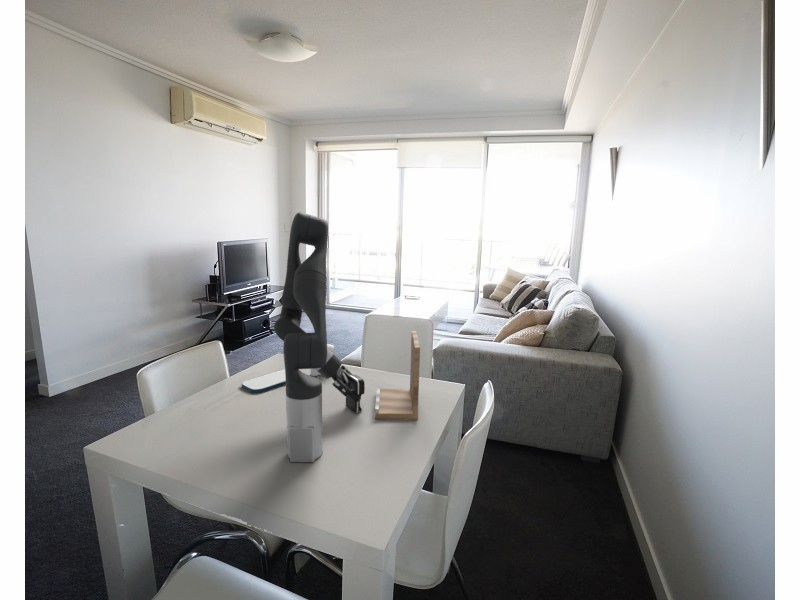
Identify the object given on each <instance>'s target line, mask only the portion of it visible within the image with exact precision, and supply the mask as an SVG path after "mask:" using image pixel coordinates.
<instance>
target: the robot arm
mask: <svg viewBox="0 0 800 600" xmlns="http://www.w3.org/2000/svg"><path fill="white" fill-rule="evenodd" d="M328 239H329V222H328V221H327V220H326V219H325V218H323V217H320V216H316V215H312V214H308V213H304V212H297V213H296V214H295V216H294V217H293V220H292V222H291V226H290V234H289V241H288V251H287V261H286V262H287V263H286V273H285V274H286V275H285V281H284V285H283V290H282V296H281V300H280V301H281V305H282V306H281V311H280V315H279V318H278V319H276V321H275V323H274V326H273V329H274V333H275V334H276V336H277V337H278V338H279V339H280V340H281V341H283V361H284V369H285V376H286V385H285V404H286V405H285V407H286V409H285V410H286V411H285V412H286V413H285V414H286V439H287V440H286V442H287V444H286V445H287V446H286V447H287V457H288V458H289V462H290V463H314V462H315V460H317V459H318V458H320V457H321V456H322V454H323V452H324V451H323V450H324V449H323V447H324V446H323V438H324V437H323V384H322V381H321V380H320V379H319V378H317V377H316V376H312V375H308V374H307V373H305V372H304V371H302V370H311V368H312V369H316V370H317V371H318V372H319V373H320V374H321V375H320V376H322V377H323V379H325V380H328V379H329V378H331V379H332V380H333V382H332V386H333V387H334V388H335V389H336V390H338V391H339V392H340V393H341V395H343V396H344V397H346V396H347V395H349V396H350V397H351V398H352V399H353V400H354V401H355V402H358V401H359V400H360V401H361V399H362V395H361V396H359V395H358V394H357V393H356V392H355V391H354V390H353V389H352V387H351V386H350V382H349V381H348V378H347V376H349V375H353V373H352V372H351V371H350V370H348V368H346V366H344V365H343V363H342V361H341V360H340V359H339V358H338V357H337V356H336V354H335V355H334V354H333V353H332V352H331V351H330V350H329V349H328V348H327V344H328V337H327V318H326V317H327V316H326V315H327V313H326V312H327V311H326V308H327V307H326V306H327V289H328V288H327V282H328V281H327V280H328V279H327V251H328V242H329V241H328ZM300 244H303V245H308V246H311V247H314V250H313V251H312V253H311V254H310V255H309V256H308V257H307V258H306V259H305V260H303V262H302V261H301V258H300V257H301V256H300ZM303 312H304V314H306V316H307V317H308V319H309V321H310V324H311V326H312V328H313V330H314V331H313V332H307V331H305V330H304V329H302V327H301V323H302V318H303V317H302V316H303ZM301 371H302V372H301ZM303 372H304V373H305V374H304V373H303Z"/></svg>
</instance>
